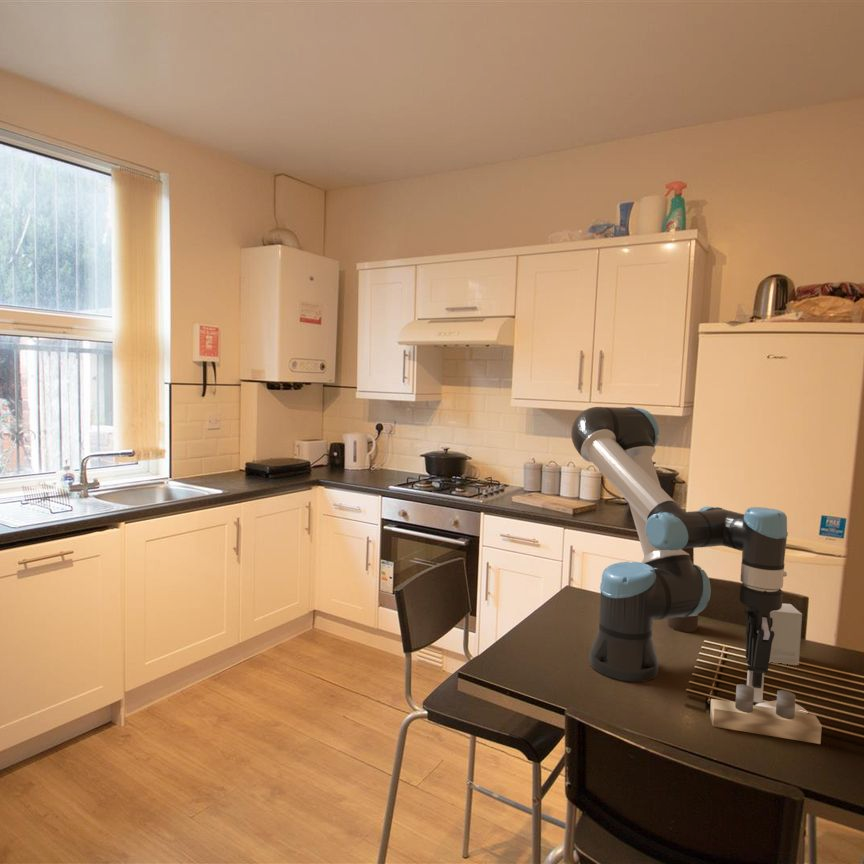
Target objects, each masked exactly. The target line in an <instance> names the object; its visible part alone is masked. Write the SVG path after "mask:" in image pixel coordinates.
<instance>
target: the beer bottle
mask: <svg viewBox="0 0 864 864" xmlns="http://www.w3.org/2000/svg"><path fill="white" fill-rule="evenodd" d="M694 549H695V548H688V549H682V550H683V551H685V552H687V553H688V554H689V555H690V558H691V561H692V564H694V562H695V561H694V560H695V559H694V558H695V557H694V556H695V554H694ZM694 565H695V564H694ZM699 614H700V613H698V614H694V615H690V616H687V617H676V618H669V619H667V621H668V622H667V626H668V627H669V628H671V629H672V628H673V630H675V631H677V630H678V632H682V631H683V633H694V632H696V631H697V628H698V625H699Z"/></svg>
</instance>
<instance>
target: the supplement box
mask: <svg viewBox="0 0 864 864" xmlns="http://www.w3.org/2000/svg"><path fill="white" fill-rule="evenodd" d="M770 618H772V619H773V625H772V627H771V631H774V638H773V641H772V646H771V653H770V660H769V662H773V663H772V664H778V663H782V664H781V665H787V664H788V666H790V665H791V666H797V665H798V666H799V665H800V652H801V651H800V650H801V641H802V640H801V639H802V637H801V635H802V623H803V622H802V621H803V613H802V612H801V611H800V610H798V609H797V608H796V607H795V606H793V604H791V603H783V602H782V607H781V609H779V610H776V611H775V610H774V611H771V612H770Z"/></svg>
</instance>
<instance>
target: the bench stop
mask: <svg viewBox="0 0 864 864" xmlns="http://www.w3.org/2000/svg"><path fill="white" fill-rule="evenodd" d="M735 688H736V689H735V701H730V700H729V701H728V700H722V699H715V698H710V708H709V709H710V710H709V712H710V713H709V718H710V720H711V724H712V727H715V728H719V729H720V728H721V729H728V730H733V731H738V732H739V731H740V732H745V733H746V732H747V733H751V734H758V735H764V736H770V737H775V738H782V739H786V740H787V739H788V740H792V741H801V742H805V743H810V744H811V743H812V744H816V745H817V744H818V745H821V743H822V742H821V741H822V727H823V726H822V725H823V724H821V722H820V720H819V719H818V718H817V716H816V715H815V714H812V713H809V714H807V713H801V712H795V703H796V699H797V698H796V697H797V696H796V694H795V693H793V692H791V691H788V690H784V689H783V690H782V689H781V690H777V692H776V700H777V703H776V709H775V708H768V707H762V706H755V705H756V704H755V705H754V702H753V699H754V689H753V688H752V687H750V686H748V685H747V684H741V683H740V684H736V687H735Z"/></svg>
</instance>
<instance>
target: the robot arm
mask: <svg viewBox="0 0 864 864" xmlns="http://www.w3.org/2000/svg"><path fill="white" fill-rule="evenodd" d="M570 432H571V433H570V434H571V440H572V444H573V447H574V448H575V450H576V451H577V454H579V455H580V456H581V458H583V460H584V461H586V462H588V463H593V465H594V466H595V467H596V468H597V469H598V470H599V472H600V473H601V474H602V475H603V476H604V477H605V478H606V479H607V481H608V482H609V483H610V484H611V485H612V486H613V487H614V488H615V489H616V491H617V492H619V494H620V495H621V496H622V497H623V498H624V499H625V500H626V502H627V503H628V505H629V509H630V513H631V515H632V516H631V517H632V519H633V521H634V526H635V529H636V532H637V536H638V538H639V539H638V540H639V542H640V545H641V546H640V547H641V549H642V552H643V558H642V561H641V562H639V561H638V562H637V561H632V562H630V561H622V562H617V563H612V564H610V565H608V566H607V567H606V568H604V570H603V571H602V573H601V582H600V586H599V590H600V601H599V618H598V620H599V621H598V623H599V624H598V632H597V633H596V636H595V639H594V641H593V644H592V646H591V649H590V651H589V664H590V667H592V668H593V670H595V671H596V672H598V673H599V674H601V675H603V676H606V677H609V678H612V679H615V680H619V681H624V682H625V681H626V682H646V681H651V680H652V679H654V678H656V677H657V676H658V674H659V660H658V655H657V652H656V648H655V646H654V641H653V623H654V621H659V620H668V619H669V618H676V617H687V616H690V615H694V614H698V613H699V614H700V613H702V612H703V611H704V610H705V609H706V607H707V606H708V602H709V601H710V599H711V593H712V590H711V589H712V588H711V587H712V586H711V583H710V578H709V576H708V574H707V573H706V571H705V570H704V569H702V567H701V566H699V565H697V564H692V561H691V558H690V555H689V554H688V553H687V552H685V551H683V550H682V549H688V548H694V549H695V548H698V549H699V548H710V547H711V548H712V547H719V546H720V547H721V546H722V547H727V548H730V549H733V550H738V551H740V552H741V565H740V566H741V567H740V582H741V584H740V587H739V602H740V603H741V604H742V605H744V606H745V607H748V608H749V609H745V611H744V613H745V658H746V659H747V661H746V663H747V665H746V666H745V667H746V671H747V674H746V675H747V676H746V685H748V686H750V687H752V688H753V689H754V699H753V703H757V704H758V703H763V700H764V697H763V695H764V682H765V674H768V672H769V666H770V663H769V660H770V653H771V646H772V641H773V638H774V631H771V627H772V625H773V619H772V618H770V612H771V611H774V610H775V611H776V610H779V609H781V607H782V603H783V597H784V596H783V595H784V592H783V590H782V588H783V587H784V577H787V576H788V574H787V572H786V571H785V556H786V549H787V548H786V547H787V540H788V539H787V538H788V518H787V515H786V513H785V512H783V511H781V509H780V510H779V509H775V508H768V507H761V506H759V507H758V506H753V507H752V506H751V507H747V508H746V510H745V512H744V513H740V512H736V511H732V510H728V509H725V508H722V507H718V506H717V507H714V506H703V507H701V508H700V509H699V510H696V511H693V510H692V511H685V510H684V509H683V508H682V507H681V506H680V505H679V504H678V503H677V502H676V501H675V500H674V499H673V498H672V497H671V496H670V495H669V494H668V493H667V492H666V491H665V490H664V489H663V488H662V486H661V483H660V480H659V477H658V474H657V470H656V468H655V465H654V461H653V459H652V457H653V456H654V454H655V453H656V448H655V447H656V446H657V444H658V442H659V435H660V428H659V425H658V422H657V420H656V418H655V416H653V414H652V413H651V412H650V411H648V410H646V409H644V408H639V407H634V406H626V407H615V406H612V407H609V406H608V407H606V406H594V407H589V408H586V409H585V410H583V411H582V412H580V413H579V414H578V415H577V416H576V418H575V420H574V421H573V423H572V426H571V431H570ZM699 614H698V615H699Z"/></svg>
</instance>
